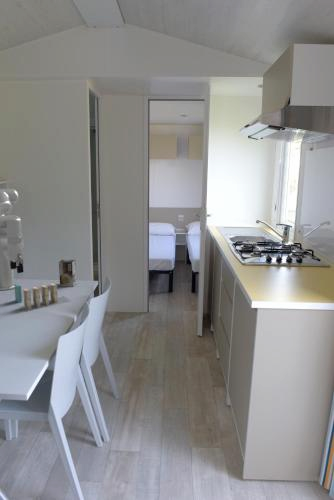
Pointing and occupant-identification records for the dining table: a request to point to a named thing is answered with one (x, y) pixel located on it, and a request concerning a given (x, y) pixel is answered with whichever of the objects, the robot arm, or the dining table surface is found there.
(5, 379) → the dining table surface
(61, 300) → the slate mat
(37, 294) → the domino
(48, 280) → the dining table surface
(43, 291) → the domino
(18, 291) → the teal domino
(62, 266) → the coffee box
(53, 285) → the domino
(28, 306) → the domino
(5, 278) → the robot arm
